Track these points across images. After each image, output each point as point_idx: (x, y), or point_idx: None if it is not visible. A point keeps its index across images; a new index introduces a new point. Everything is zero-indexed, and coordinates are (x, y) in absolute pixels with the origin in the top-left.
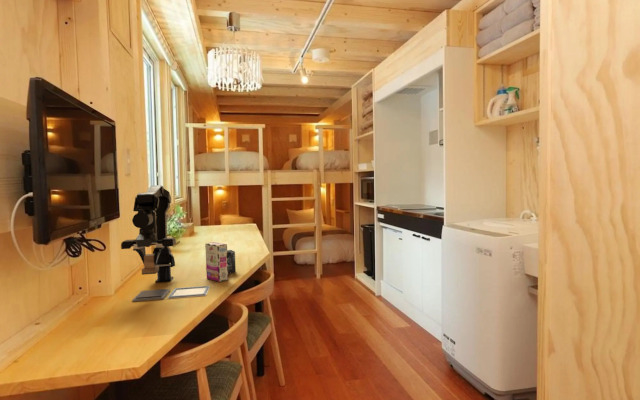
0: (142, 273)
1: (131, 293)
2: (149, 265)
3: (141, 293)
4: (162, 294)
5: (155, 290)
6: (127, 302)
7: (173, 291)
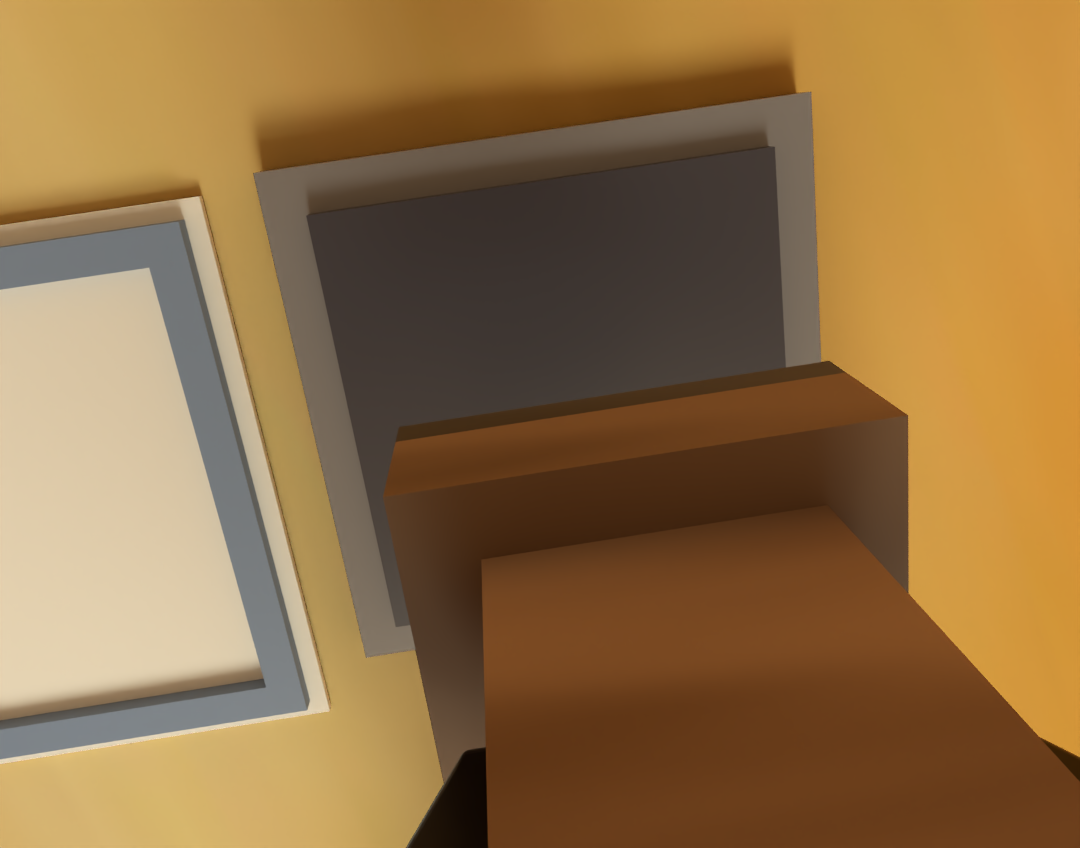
0: (822, 375)
1: (974, 567)
2: (662, 601)
3: None
4: (325, 303)
5: None
6: (876, 73)
7: (245, 540)
